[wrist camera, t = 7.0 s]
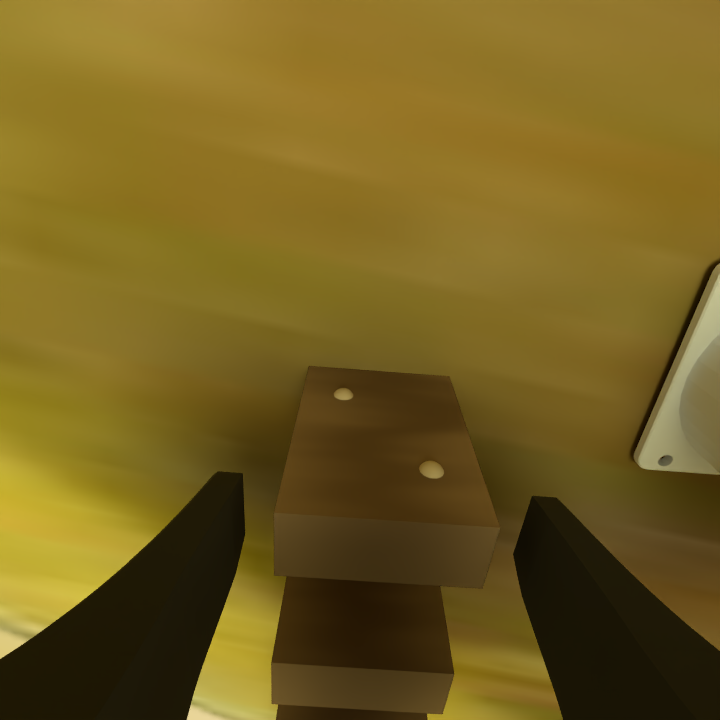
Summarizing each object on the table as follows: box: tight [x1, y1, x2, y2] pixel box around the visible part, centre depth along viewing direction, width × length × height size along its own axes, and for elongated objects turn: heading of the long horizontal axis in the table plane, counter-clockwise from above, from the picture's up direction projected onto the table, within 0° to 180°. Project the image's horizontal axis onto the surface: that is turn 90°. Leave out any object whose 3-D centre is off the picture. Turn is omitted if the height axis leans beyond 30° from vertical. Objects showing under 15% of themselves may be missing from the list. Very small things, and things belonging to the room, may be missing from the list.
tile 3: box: [276, 704, 427, 720], centre depth 18 cm, size 5×2×7 cm, turn 85°
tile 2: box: [271, 576, 454, 714], centre depth 16 cm, size 5×2×7 cm, turn 85°
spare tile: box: [274, 366, 500, 589], centre depth 14 cm, size 5×2×7 cm, turn 86°
